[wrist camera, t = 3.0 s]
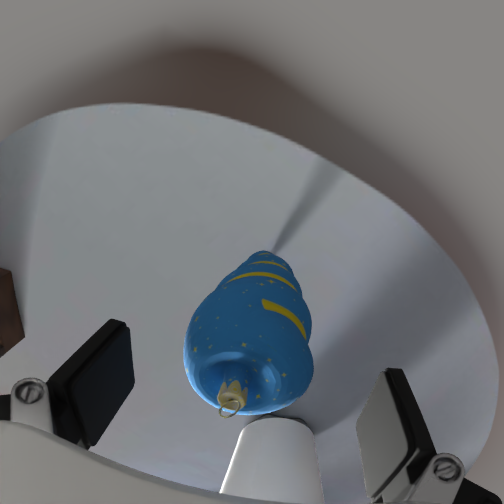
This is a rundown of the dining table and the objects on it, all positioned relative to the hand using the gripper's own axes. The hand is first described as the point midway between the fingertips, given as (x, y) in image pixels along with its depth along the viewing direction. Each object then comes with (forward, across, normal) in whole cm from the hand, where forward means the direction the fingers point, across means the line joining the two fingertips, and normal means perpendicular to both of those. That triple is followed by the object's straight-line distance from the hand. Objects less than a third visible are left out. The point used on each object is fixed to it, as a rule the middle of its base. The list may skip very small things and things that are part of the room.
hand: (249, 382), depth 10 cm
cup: (+13, -4, +19) cm, 23 cm away
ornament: (+13, 0, 0) cm, 13 cm away
